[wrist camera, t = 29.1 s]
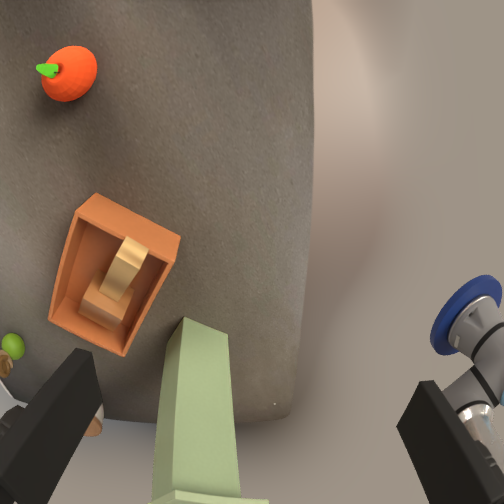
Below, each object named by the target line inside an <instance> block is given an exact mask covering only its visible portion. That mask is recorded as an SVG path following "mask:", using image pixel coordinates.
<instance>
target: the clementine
mask: <svg viewBox="0 0 504 504" xmlns="http://www.w3.org/2000/svg"><path fill="white" fill-rule="evenodd" d="M36 69H37V70H38V71H39V72H40V73H41V74H42V86H43V88H44V90H45V92H46V93H47V94H48V95H49V96H50V97H51V98H52V99H54V100H57V101H63V102H67V101H72V100H75V99H77V98H79V97H81V96H82V95H84V94H85V93H86V92H87V91H88V90H89V89H90V87H91V86H92V84H93V82H94V80H95V78H96V74H97V63H96V59H95V57H94V55H93V54H92V53H91V52H90V51H89V50H87V49H86V48H83V47H81V46H69V47H65V48H63V49H61V50H59V51H57V52H56V53H54V54H53V55H52V56H51V57H50V58H49V60H48V61H47V62H46V64H38V65H37V67H36Z"/></svg>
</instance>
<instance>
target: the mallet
mask: <svg viewBox="0 0 504 504" xmlns="http://www.w3.org/2000/svg"><path fill="white" fill-rule="evenodd" d="M148 251H149V249H148V248H147V247H145V246H143V245H142V244H140V243H138V242H137V241H135V240H133V239H132V238H130V237H128V236H126V238H125V239H124V241H123V243H122V245H121V247H120V248H119V250H118V252H117V254H116V256H115V258H114V260H113V262H112V264H111V266H110V268H109V270H108V272H107V274H106V273H105V272H103V271H101V270H100V269H98V270H97V272H96V273H95V275H94V277H93V279H92V281H91V283H90V285H89V287H88V288H87V290H86V292H85V294H84V296H83V298H82V301H81V304H80V308H79V311H78V313H80V314H81V315H83V316H85V317H87V318H88V319H90V320H92V321H94V322H96V323H97V324H99V325H101V326H103V327H105V328H107V329H108V330H110V331H112V332H113V331H114V330H115V329H116V327H117V326H118V325H119V323H120V322H121V321H122V319H123V317H124V315H125V312H126V310H127V308H128V305H129V303H130V301H131V298H132V296H133V294H134V291H135V290H134V289H133V288H131V287H129V284H130V283H131V281H132V280H133V278H134V277H135V275H136V274H137V273H138V271H139V270H140V268H141V266H142V263H143V261H144V259H145V257H146V255H147V253H148Z"/></svg>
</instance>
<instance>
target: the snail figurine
mask: <svg viewBox="0 0 504 504" xmlns="http://www.w3.org/2000/svg"><path fill="white" fill-rule="evenodd" d="M24 351H25V345H24V342H23V340H22V339H21V337H20V336H18V335H17V334H14V333H9V334H7V335H6V336H5V337H4V338H3V340H2V350H0V376H1V377H3V378H6V377H8V376H9V374H10V367H11V368H13V362H12V360H17V359H20V358H21V357H22V356H23V354H24Z"/></svg>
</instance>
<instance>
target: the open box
mask: <svg viewBox="0 0 504 504" xmlns="http://www.w3.org/2000/svg"><path fill="white" fill-rule="evenodd" d="M126 236H128V237H130V238H132V239H133V240H135V241H137V242H138V243H140V244H142V245H143V246H145V247H147V248H148V249H149V251H148V253H147V255H146V257H145V259H144V261H143V263H142V266H141V268H140V270H139V271H138V273H137V274H136V275H135V277H134V278H133V280H132V281H131V283H130V284H129V287H131V288H133V289H134V290H135V291H134V294H133V296H132V298H131V301H130V303H129V305H128V308H127V310H126V312H125V315H124V317H123V319H122V321H121V322H120V323H119V325H118V326H117V327H116V329H115V330H114V331H113V332H112V331H110V330H108V329H107V328H105V327H103V326H101V325H99V324H97V323H96V322H94V321H92V320H90V319H88V318H87V317H85V316H83V315H81V314H80V313H78V311H79V308H80V304H81V301H82V298H83V296H84V294H85V292H86V290H87V288H88V287H89V285H90V283H91V281H92V279H93V277H94V275H95V273H96V272H97V270H98V269H100V270H101V271H103V272H105V273H106V274H107V272H108V270H109V268H110V266H111V264H112V262H113V260H114V258H115V256H116V254H117V252H118V250H119V248H120V247H121V245H122V243H123V241H124V239H125V238H126ZM180 238H181V236H179V235H177V234H175V233H173V232H171V231H169V230H167V229H165V228H163V227H161V226H159V225H158V224H156V223H154V222H152V221H150V220H148V219H146V218H144V217H142V216H140V215H138V214H136V213H134V212H132V211H130V210H129V209H127V208H125V207H123V206H121V205H119V204H117V203H115V202H113V201H111V200H109V199H108V198H106V197H104V196H102V195H100V194H98V193H95V194H94V195H93V196H91V197H90V198H89V199H88V200H87V201H86V202H85V203H83V204H82V205H81V206H80V207H79V208H78V209H77V210H76V211H75V214H74V217H73V220H72V223H71V226H70V229H69V233H68V236H67V239H66V243H65V246H64V250H63V253H62V257H61V261H60V265H59V269H58V273H57V277H56V281H55V286H54V290H53V295H52V300H51V305H50V310H49V315H48V321H50V322H52V323H54V324H56V325H58V326H59V327H61V328H63V329H65V330H67V331H69V332H71V333H73V334H75V335H77V336H79V337H81V338H83V339H85V340H87V341H89V342H91V343H93V344H95V345H97V346H100V347H102V348H104V349H106V350H108V351H111V352H113V353H115V354H117V355H120V356H122V357H125V355H126V353H127V351H128V349H129V347H130V345H131V343H132V341H133V339H134V337H135V335H136V333H137V331H138V329H139V327H140V325H141V324H142V322H143V320H144V318H145V316H146V314H147V312H148V310H149V308H150V306H151V304H152V303H153V301H154V299H155V297H156V295H157V293H158V291H159V290H160V288H161V286H162V284H163V282H164V280H165V279H166V277H167V275H168V273H169V271H170V270H171V268H172V266H173V264H174V262H175V259H176V255H177V251H178V246H179V242H180Z"/></svg>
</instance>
